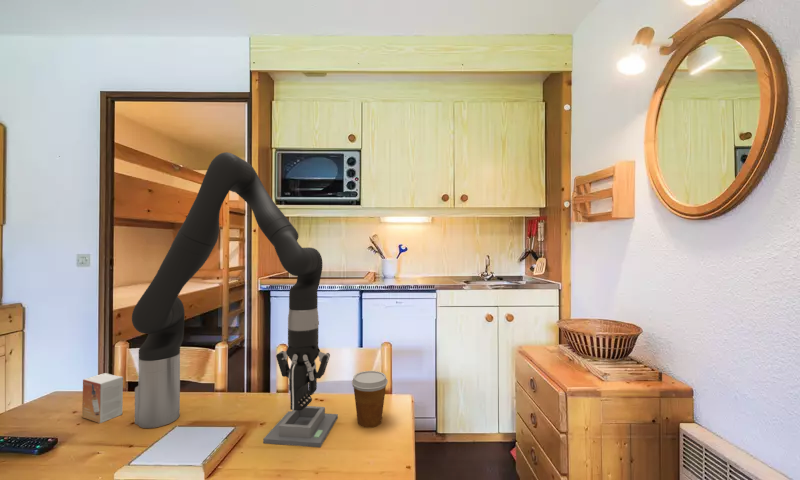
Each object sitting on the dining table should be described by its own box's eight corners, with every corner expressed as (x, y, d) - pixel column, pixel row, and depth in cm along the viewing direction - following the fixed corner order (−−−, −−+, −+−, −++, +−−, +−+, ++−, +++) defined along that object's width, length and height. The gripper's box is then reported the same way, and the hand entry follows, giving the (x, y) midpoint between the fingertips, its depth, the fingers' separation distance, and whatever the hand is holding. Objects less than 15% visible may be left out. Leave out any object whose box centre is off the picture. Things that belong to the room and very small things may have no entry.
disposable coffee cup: (344, 422, 95) (344, 376, 95) (370, 409, 102) (370, 367, 102) (368, 435, 88) (368, 386, 88) (394, 421, 95) (395, 376, 95)
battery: (303, 413, 87) (303, 366, 87) (289, 411, 88) (289, 365, 88) (316, 400, 94) (316, 357, 94) (302, 399, 95) (302, 356, 95)
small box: (81, 418, 96) (81, 379, 96) (105, 409, 102) (105, 372, 102) (99, 423, 93) (100, 383, 93) (123, 414, 99) (123, 376, 99)
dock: (263, 443, 85) (263, 428, 85) (288, 414, 99) (288, 402, 99) (320, 447, 83) (320, 432, 83) (337, 417, 97) (337, 404, 97)
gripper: (269, 328, 88) (269, 398, 88) (325, 330, 86) (325, 401, 86) (283, 321, 95) (282, 386, 95) (334, 323, 94) (334, 388, 94)
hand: (303, 392), depth 91 cm, fingers closed on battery, 4 cm apart
